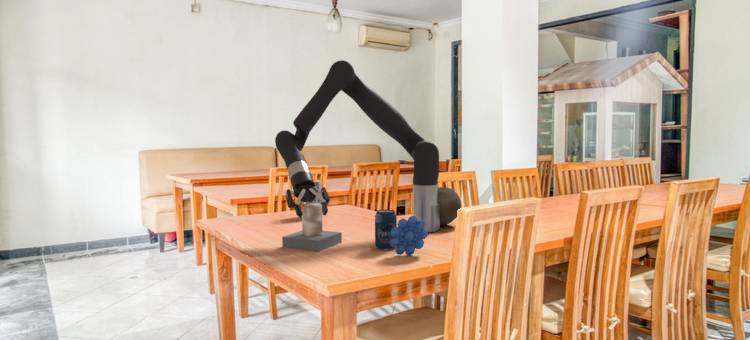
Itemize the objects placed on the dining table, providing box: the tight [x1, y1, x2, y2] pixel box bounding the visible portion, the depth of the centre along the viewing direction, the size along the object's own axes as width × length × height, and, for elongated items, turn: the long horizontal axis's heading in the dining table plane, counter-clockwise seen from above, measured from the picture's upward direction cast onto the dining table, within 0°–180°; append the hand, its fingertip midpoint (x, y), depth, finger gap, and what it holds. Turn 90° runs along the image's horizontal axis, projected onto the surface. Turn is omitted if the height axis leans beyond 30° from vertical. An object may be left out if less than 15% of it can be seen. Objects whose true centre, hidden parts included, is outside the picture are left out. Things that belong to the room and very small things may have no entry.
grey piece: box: [301, 203, 323, 236], centre depth 169 cm, size 5×5×10 cm
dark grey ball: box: [438, 186, 462, 227], centre depth 199 cm, size 14×14×15 cm
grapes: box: [390, 215, 429, 256], centre depth 154 cm, size 12×7×12 cm, turn 95°
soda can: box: [374, 208, 398, 251], centre depth 163 cm, size 7×7×12 cm
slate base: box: [281, 230, 343, 252], centre depth 169 cm, size 14×14×4 cm
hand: (313, 214), depth 167 cm, fingers open, 8 cm apart
